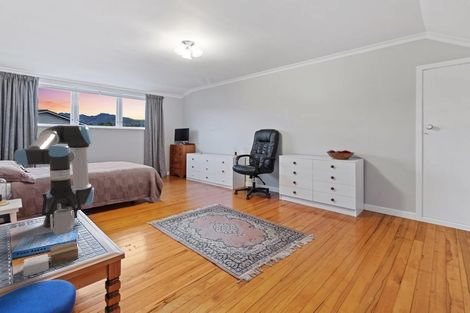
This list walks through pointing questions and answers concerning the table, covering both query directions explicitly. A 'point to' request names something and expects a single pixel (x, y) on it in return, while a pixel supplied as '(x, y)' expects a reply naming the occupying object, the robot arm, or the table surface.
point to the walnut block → (64, 253)
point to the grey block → (35, 264)
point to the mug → (62, 221)
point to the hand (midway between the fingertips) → (62, 226)
